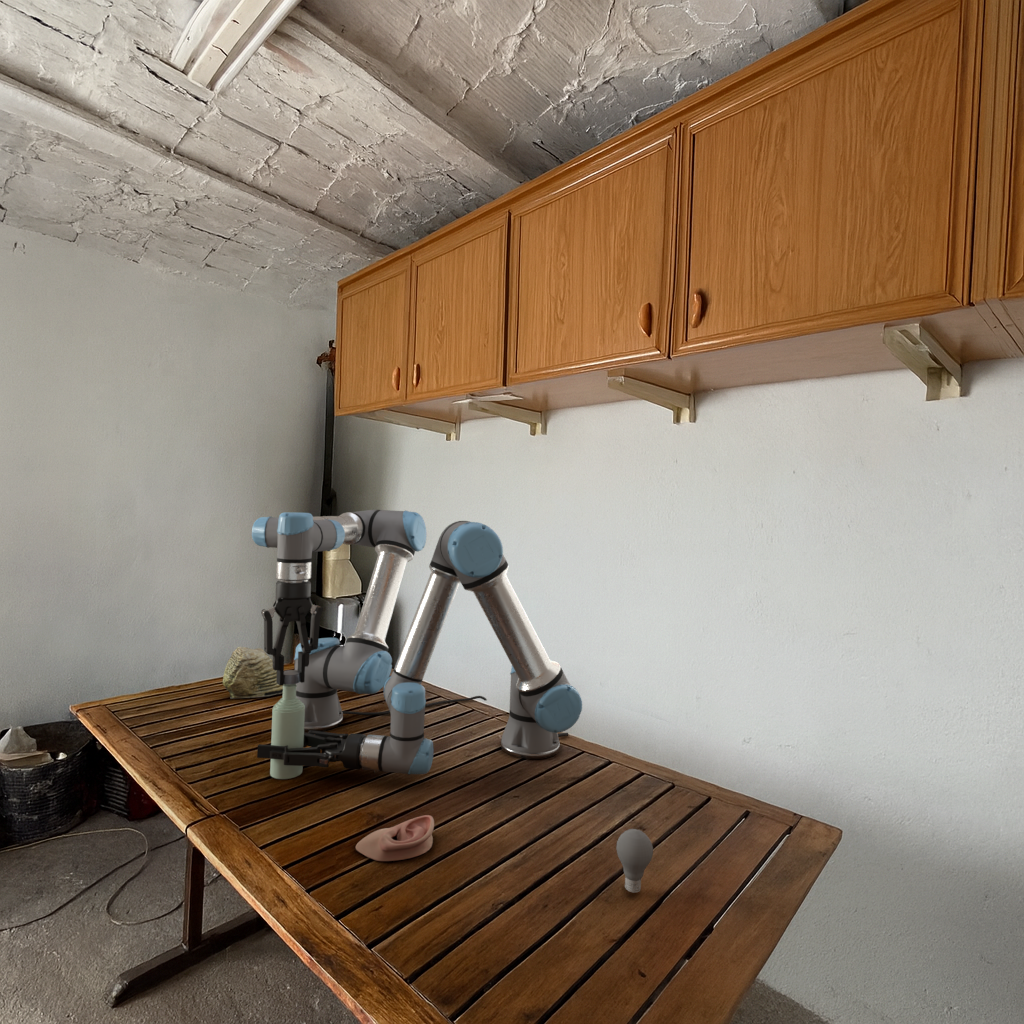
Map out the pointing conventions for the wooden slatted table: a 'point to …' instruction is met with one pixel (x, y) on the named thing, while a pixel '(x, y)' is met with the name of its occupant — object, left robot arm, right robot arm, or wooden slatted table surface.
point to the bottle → (287, 730)
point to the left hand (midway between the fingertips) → (290, 682)
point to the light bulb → (634, 857)
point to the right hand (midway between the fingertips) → (266, 744)
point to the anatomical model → (399, 840)
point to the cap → (291, 677)
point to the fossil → (250, 674)
